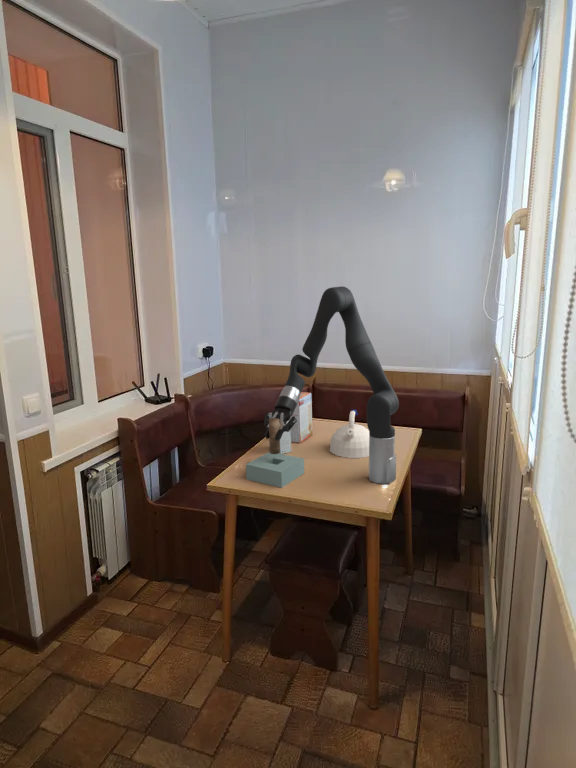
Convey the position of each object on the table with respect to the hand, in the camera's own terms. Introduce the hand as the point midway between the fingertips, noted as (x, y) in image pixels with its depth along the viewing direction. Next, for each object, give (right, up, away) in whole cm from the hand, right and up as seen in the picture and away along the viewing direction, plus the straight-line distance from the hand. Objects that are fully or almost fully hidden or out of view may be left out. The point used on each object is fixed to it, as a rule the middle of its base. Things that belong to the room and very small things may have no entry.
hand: (271, 438), depth 192 cm
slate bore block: (+1, -15, +5) cm, 16 cm away
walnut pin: (+1, -6, +3) cm, 6 cm away
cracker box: (+12, -5, +49) cm, 51 cm away
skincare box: (+3, -9, +33) cm, 34 cm away
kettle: (+34, -9, +32) cm, 48 cm away
